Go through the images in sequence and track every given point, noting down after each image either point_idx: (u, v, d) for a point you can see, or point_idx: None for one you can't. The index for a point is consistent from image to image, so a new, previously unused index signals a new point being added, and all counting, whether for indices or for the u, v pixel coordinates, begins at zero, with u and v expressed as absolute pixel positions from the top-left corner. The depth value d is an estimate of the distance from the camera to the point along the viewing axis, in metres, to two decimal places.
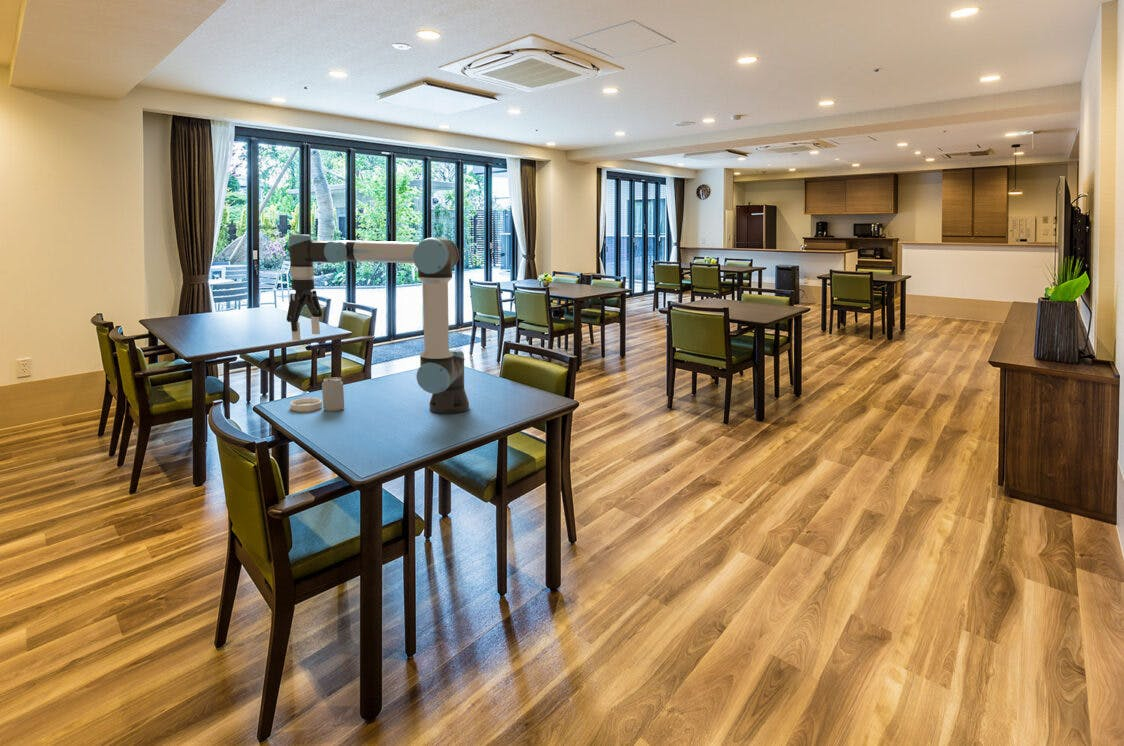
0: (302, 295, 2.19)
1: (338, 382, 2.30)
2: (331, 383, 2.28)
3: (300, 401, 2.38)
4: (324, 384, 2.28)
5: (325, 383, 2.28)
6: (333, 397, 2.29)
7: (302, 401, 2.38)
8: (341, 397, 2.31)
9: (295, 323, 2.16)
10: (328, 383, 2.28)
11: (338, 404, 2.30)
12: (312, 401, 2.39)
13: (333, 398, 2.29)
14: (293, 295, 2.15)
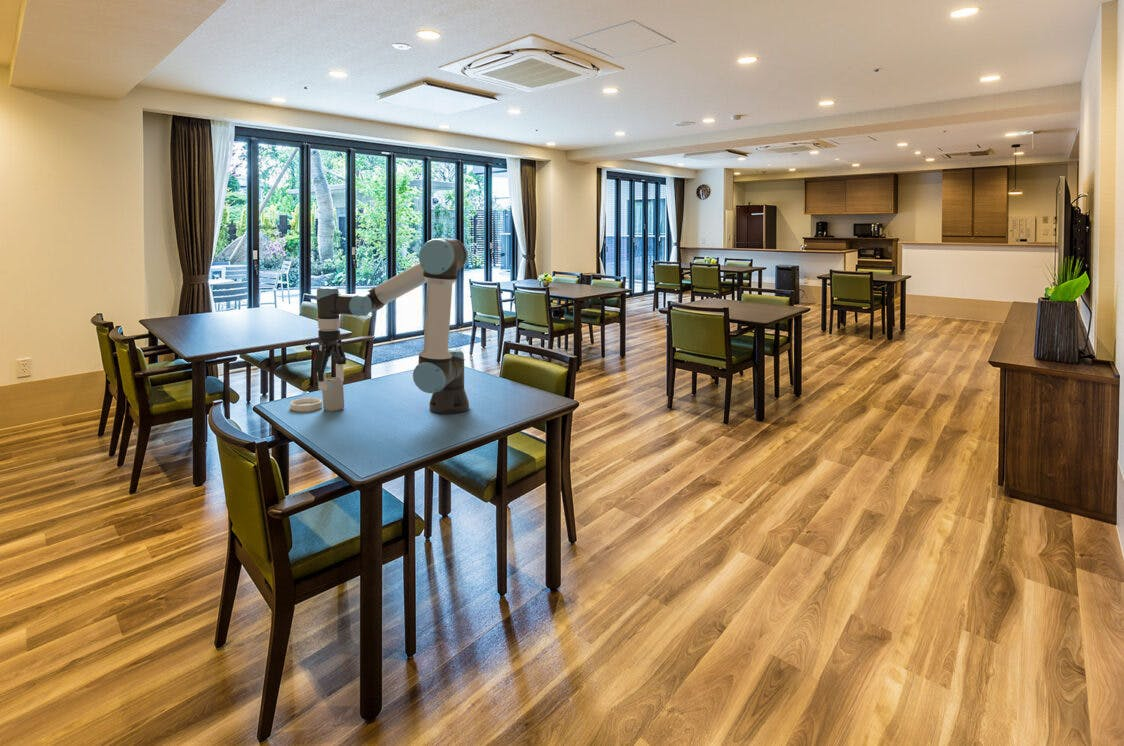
0: (329, 346, 2.25)
1: (338, 382, 2.30)
2: (331, 383, 2.28)
3: (300, 401, 2.38)
4: None
5: None
6: (333, 397, 2.29)
7: (302, 401, 2.38)
8: (341, 397, 2.31)
9: (322, 373, 2.22)
10: (328, 383, 2.28)
11: (338, 404, 2.30)
12: (312, 401, 2.39)
13: (333, 398, 2.29)
14: (320, 347, 2.21)
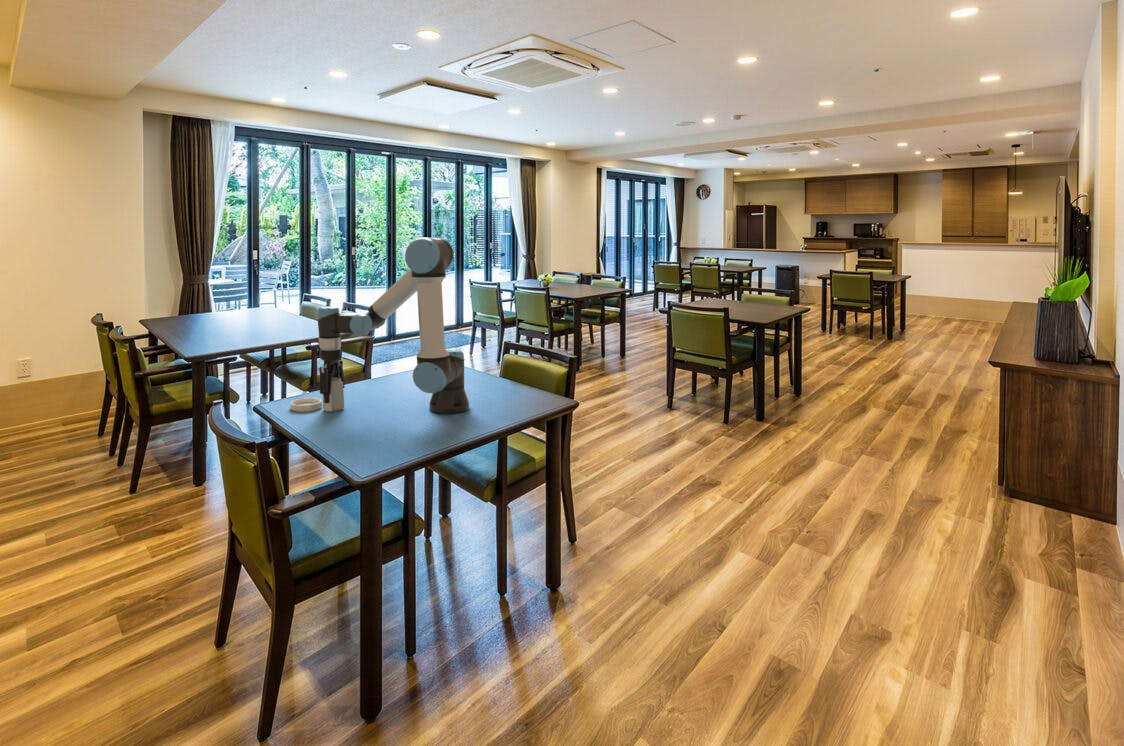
0: (330, 365, 2.27)
1: (338, 382, 2.30)
2: (331, 383, 2.28)
3: (300, 401, 2.38)
4: None
5: None
6: (333, 397, 2.29)
7: (302, 401, 2.38)
8: (341, 397, 2.31)
9: (328, 395, 2.27)
10: None
11: (338, 404, 2.30)
12: (312, 401, 2.39)
13: (333, 398, 2.29)
14: (322, 369, 2.23)
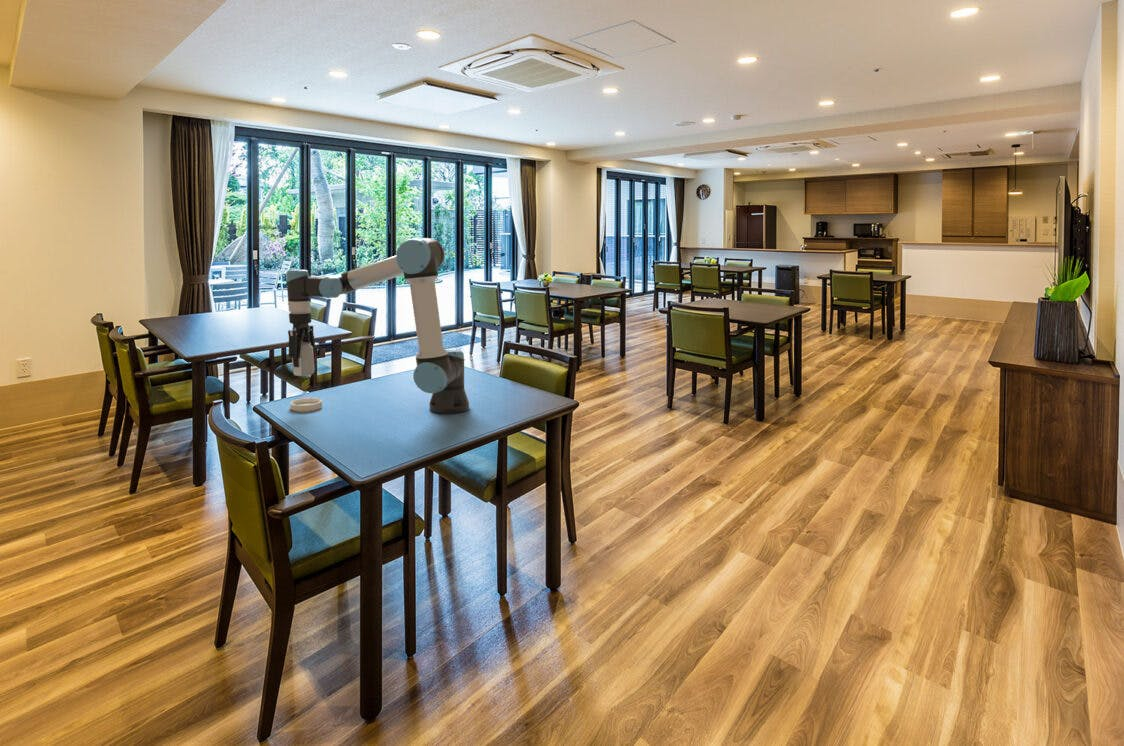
0: (299, 328, 2.25)
1: (308, 346, 2.28)
2: None
3: (300, 401, 2.38)
4: None
5: None
6: (302, 361, 2.27)
7: (302, 401, 2.38)
8: (311, 361, 2.30)
9: (297, 359, 2.25)
10: None
11: (307, 368, 2.29)
12: (312, 401, 2.39)
13: (302, 362, 2.27)
14: (291, 332, 2.21)
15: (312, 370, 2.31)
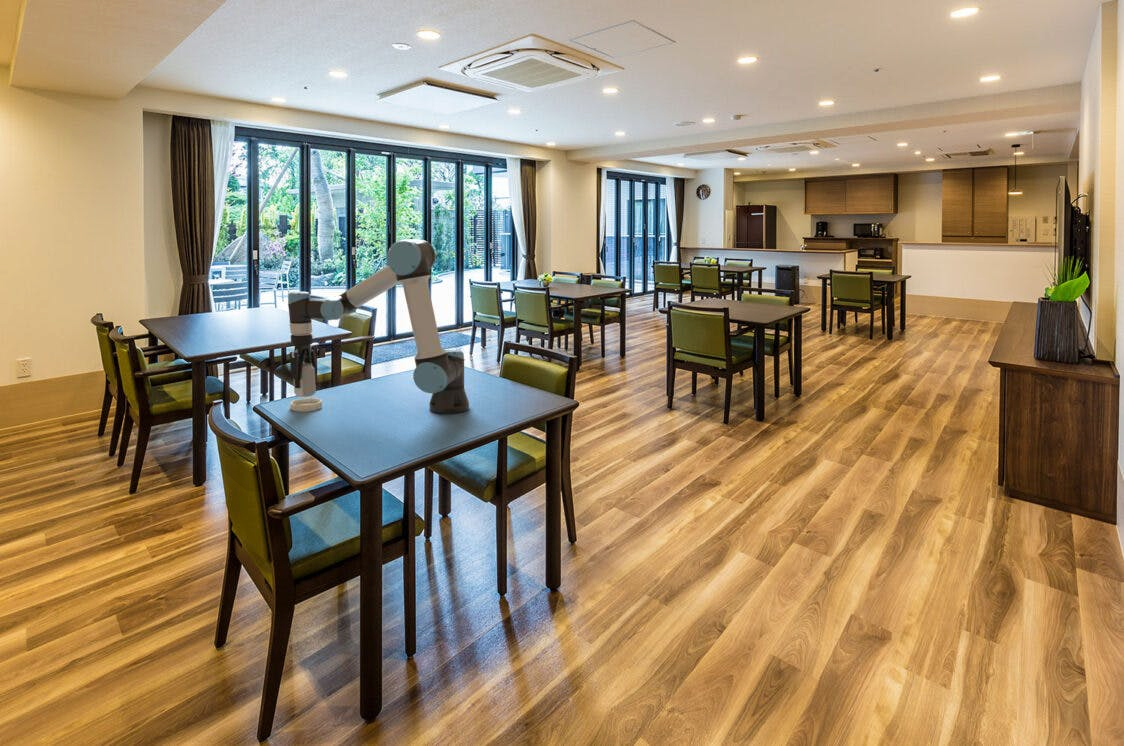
0: (301, 350, 2.27)
1: (309, 367, 2.30)
2: (302, 368, 2.28)
3: (300, 401, 2.38)
4: None
5: None
6: (304, 382, 2.29)
7: (302, 401, 2.38)
8: (312, 382, 2.31)
9: (298, 380, 2.27)
10: None
11: (309, 389, 2.30)
12: (312, 401, 2.39)
13: (304, 383, 2.29)
14: (293, 354, 2.23)
15: (313, 391, 2.32)
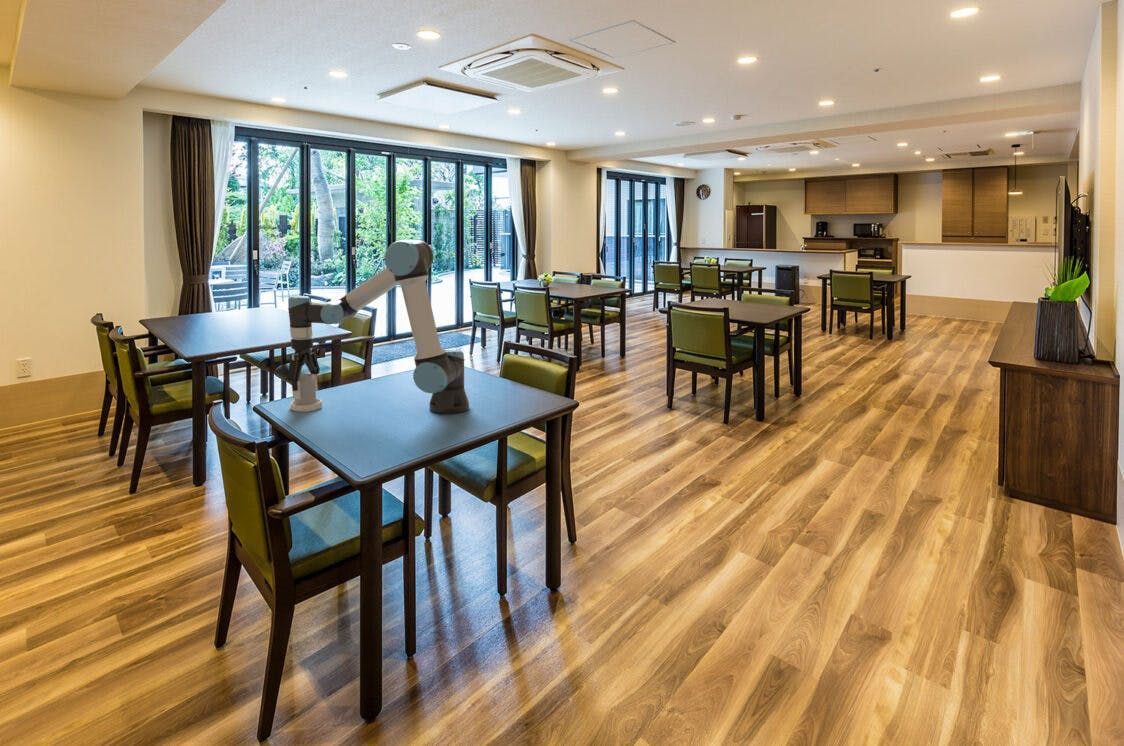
0: (301, 354, 2.27)
1: (309, 378, 2.30)
2: (302, 379, 2.29)
3: None
4: None
5: None
6: (304, 393, 2.29)
7: None
8: (313, 393, 2.32)
9: (296, 383, 2.25)
10: (299, 379, 2.29)
11: (309, 400, 2.31)
12: None
13: (304, 394, 2.30)
14: (293, 356, 2.23)
15: (314, 402, 2.33)
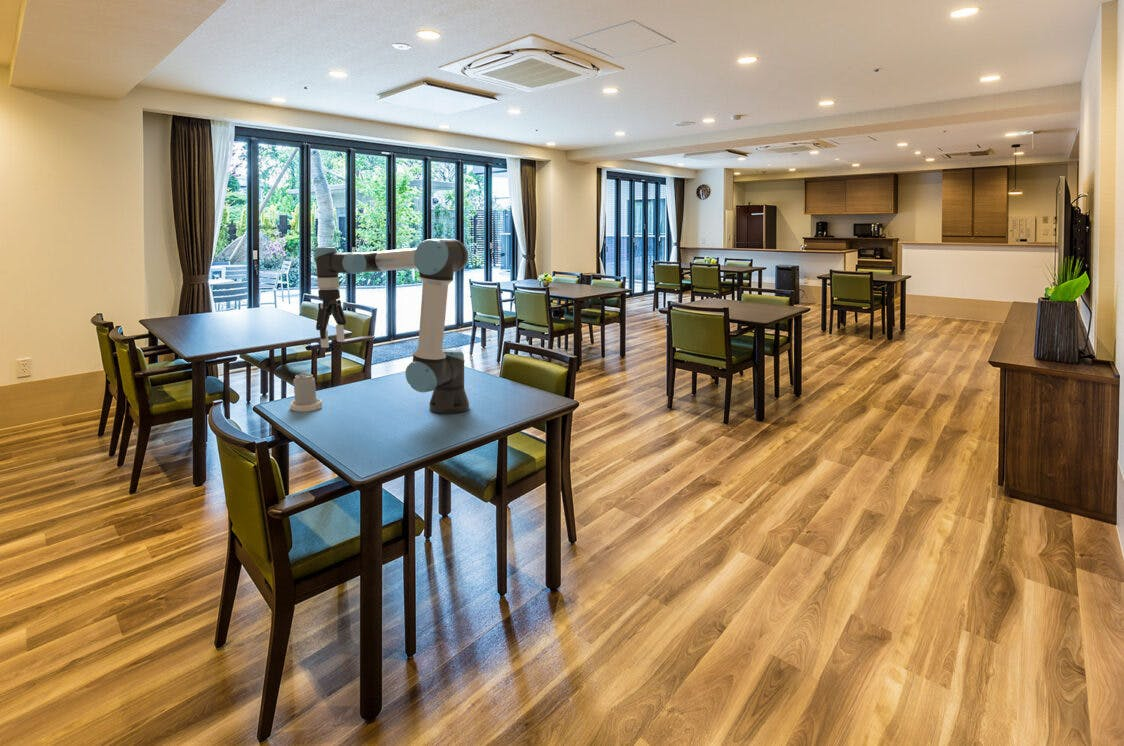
0: (329, 304, 2.30)
1: (309, 378, 2.30)
2: (302, 379, 2.29)
3: None
4: (295, 380, 2.29)
5: (296, 379, 2.29)
6: (304, 393, 2.29)
7: None
8: (313, 393, 2.32)
9: (324, 331, 2.27)
10: (299, 379, 2.29)
11: (309, 400, 2.31)
12: None
13: (304, 394, 2.30)
14: (321, 304, 2.26)
15: (314, 402, 2.33)
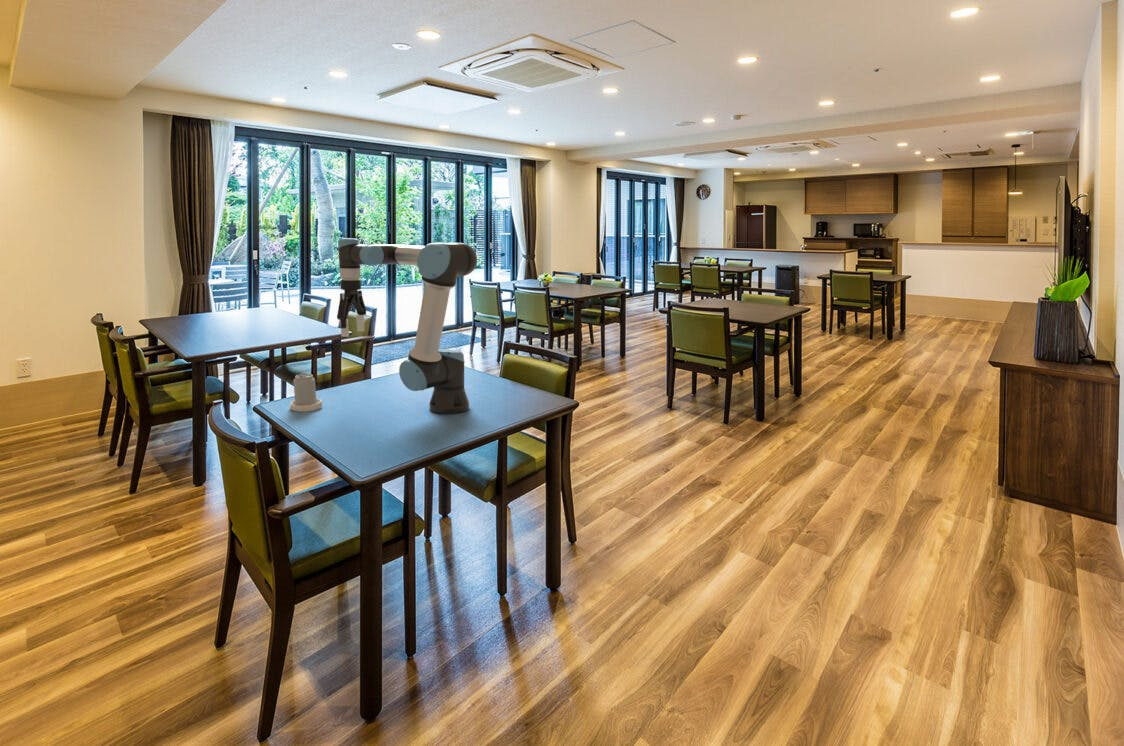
0: (350, 295, 2.36)
1: (309, 379, 2.30)
2: (302, 379, 2.29)
3: None
4: (295, 380, 2.29)
5: (296, 379, 2.29)
6: (304, 394, 2.29)
7: None
8: (313, 393, 2.32)
9: (344, 320, 2.33)
10: (299, 379, 2.29)
11: (309, 401, 2.31)
12: None
13: (304, 395, 2.30)
14: (343, 295, 2.32)
15: (314, 402, 2.33)
